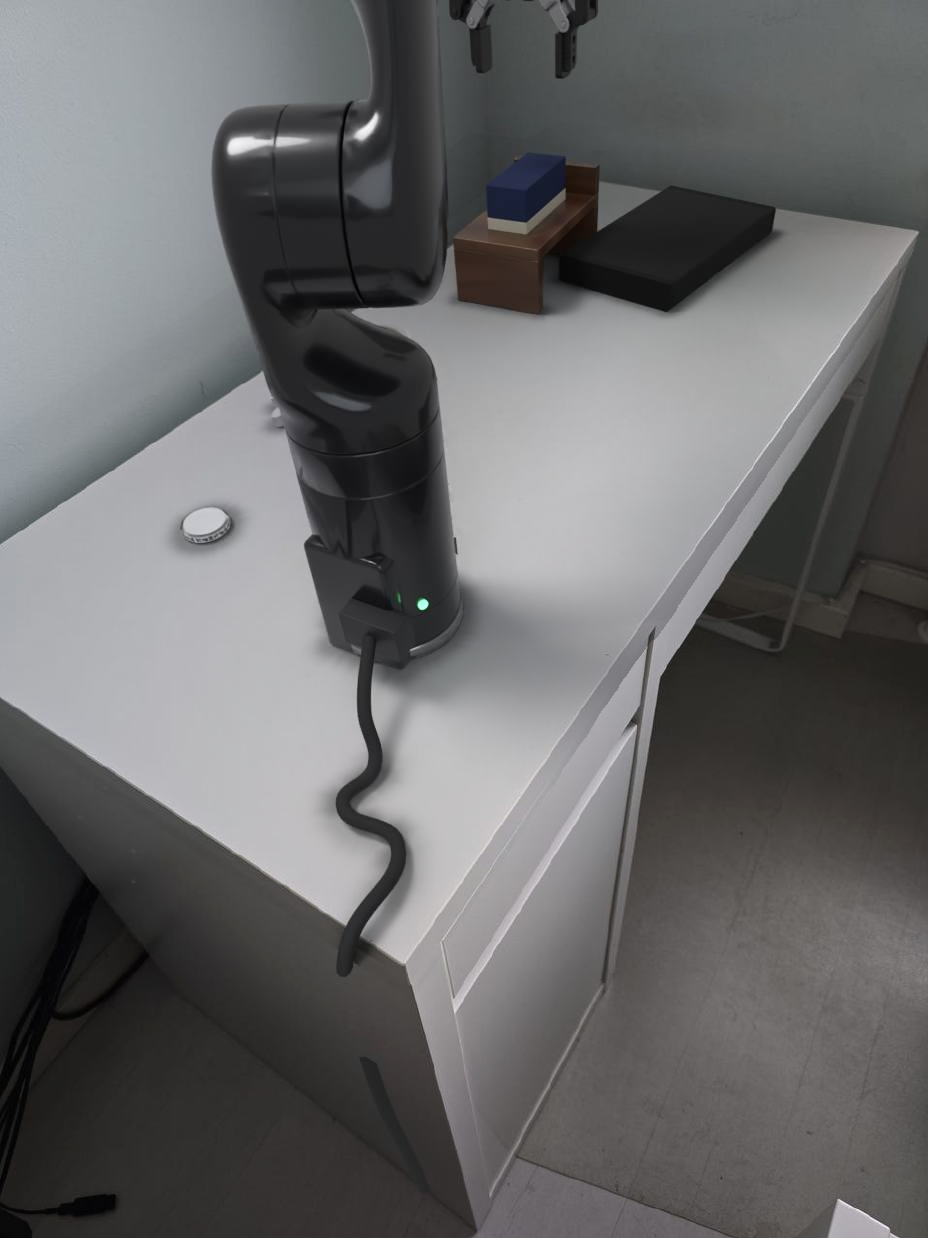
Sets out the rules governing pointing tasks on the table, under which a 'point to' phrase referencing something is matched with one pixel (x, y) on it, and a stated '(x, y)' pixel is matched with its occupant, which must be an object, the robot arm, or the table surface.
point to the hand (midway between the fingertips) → (523, 73)
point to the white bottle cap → (205, 524)
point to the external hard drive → (666, 246)
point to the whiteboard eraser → (526, 193)
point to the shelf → (525, 247)
